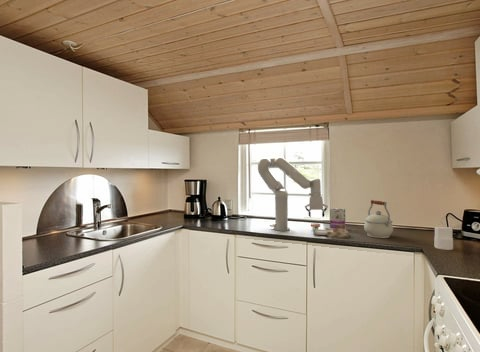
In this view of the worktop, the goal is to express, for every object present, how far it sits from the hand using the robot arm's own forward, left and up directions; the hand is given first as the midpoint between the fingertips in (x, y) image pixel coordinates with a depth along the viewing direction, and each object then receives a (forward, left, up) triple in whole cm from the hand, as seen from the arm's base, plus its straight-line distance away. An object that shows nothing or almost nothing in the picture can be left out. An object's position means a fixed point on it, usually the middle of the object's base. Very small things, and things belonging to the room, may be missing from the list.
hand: (316, 216), depth 215 cm
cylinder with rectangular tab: (+71, -36, -11) cm, 80 cm away
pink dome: (-1, 0, -7) cm, 7 cm away
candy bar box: (+17, +12, -11) cm, 24 cm away
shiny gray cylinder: (-1, 0, -11) cm, 11 cm away
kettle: (+41, -8, -11) cm, 43 cm away
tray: (+4, -13, -10) cm, 17 cm away
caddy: (+13, -13, -11) cm, 21 cm away
